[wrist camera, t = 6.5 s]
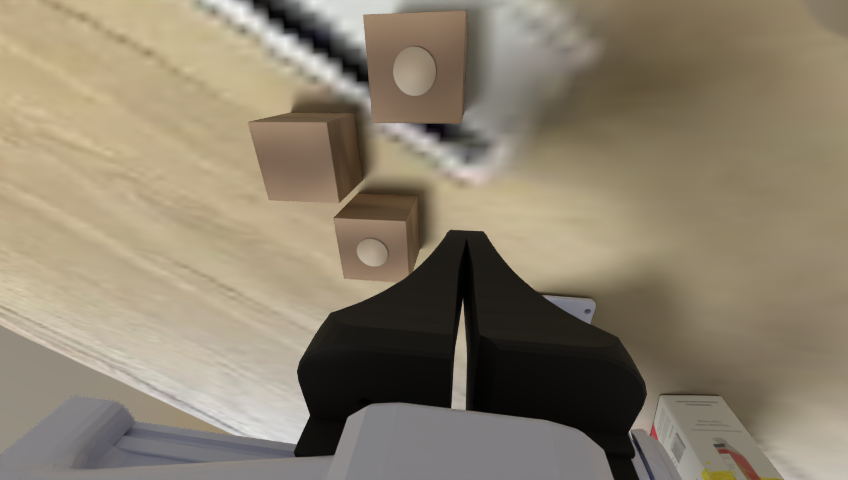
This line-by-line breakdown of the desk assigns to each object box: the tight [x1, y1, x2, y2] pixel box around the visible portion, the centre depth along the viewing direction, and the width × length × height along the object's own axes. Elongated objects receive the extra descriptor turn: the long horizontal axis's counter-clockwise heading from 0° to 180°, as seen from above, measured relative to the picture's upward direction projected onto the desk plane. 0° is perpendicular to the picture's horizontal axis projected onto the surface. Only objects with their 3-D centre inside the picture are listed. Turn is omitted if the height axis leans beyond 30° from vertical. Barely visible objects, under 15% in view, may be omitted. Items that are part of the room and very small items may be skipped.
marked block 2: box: [334, 193, 420, 282], centre depth 21 cm, size 4×5×5 cm
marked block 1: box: [363, 10, 468, 123], centre depth 16 cm, size 4×5×5 cm
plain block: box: [248, 113, 363, 203], centre depth 19 cm, size 4×4×4 cm
